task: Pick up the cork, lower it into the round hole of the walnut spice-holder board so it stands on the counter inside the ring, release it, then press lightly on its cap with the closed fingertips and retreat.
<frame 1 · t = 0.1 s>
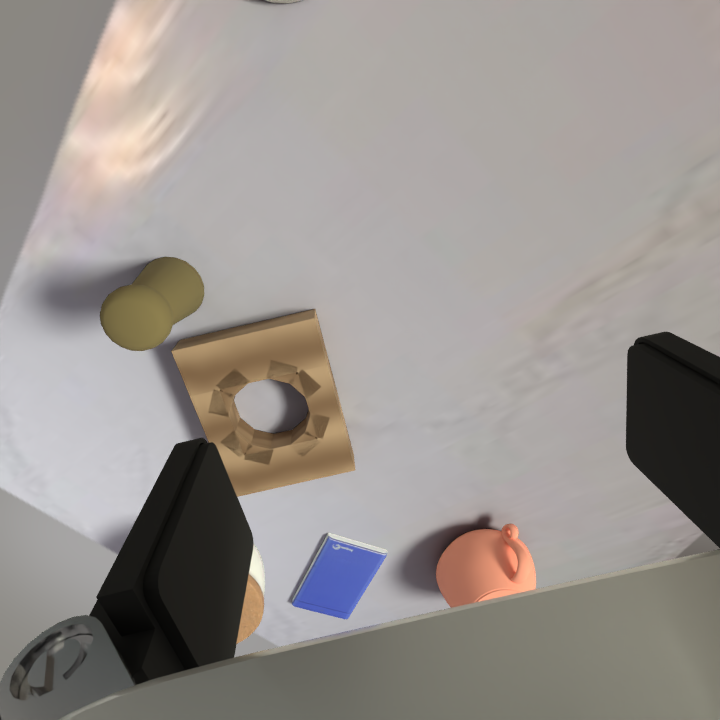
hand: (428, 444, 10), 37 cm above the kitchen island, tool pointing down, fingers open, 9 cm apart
lidded bowl: (220, 545, 58), on the kitchen island
cork: (172, 287, 45), on the kitchen island
holder board: (272, 401, 51), on the kitchen island
hard drive: (338, 570, 62), on the kitchen island
sugar bowl: (480, 548, 62), on the kitchen island
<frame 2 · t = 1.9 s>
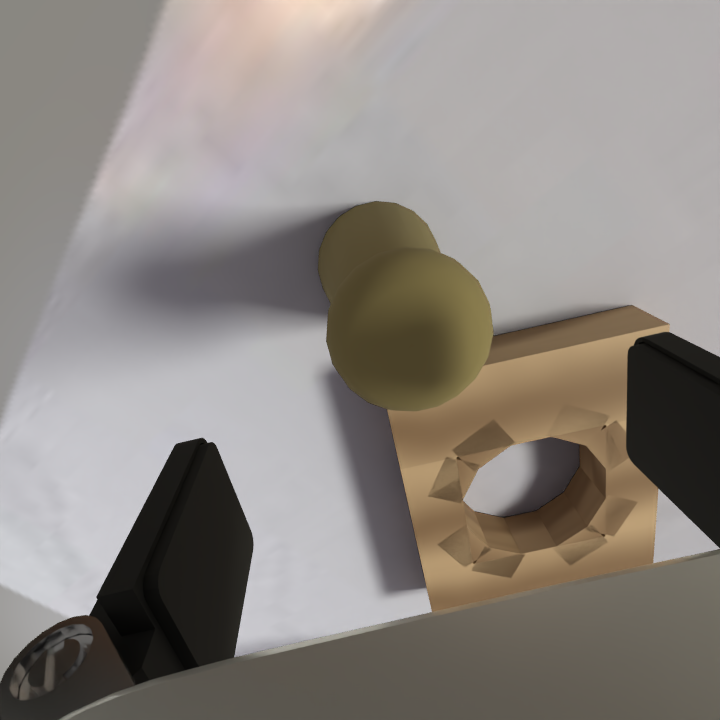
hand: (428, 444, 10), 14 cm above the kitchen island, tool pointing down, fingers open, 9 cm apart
cork: (378, 264, 23), on the kitchen island
holder board: (515, 466, 29), on the kitchen island
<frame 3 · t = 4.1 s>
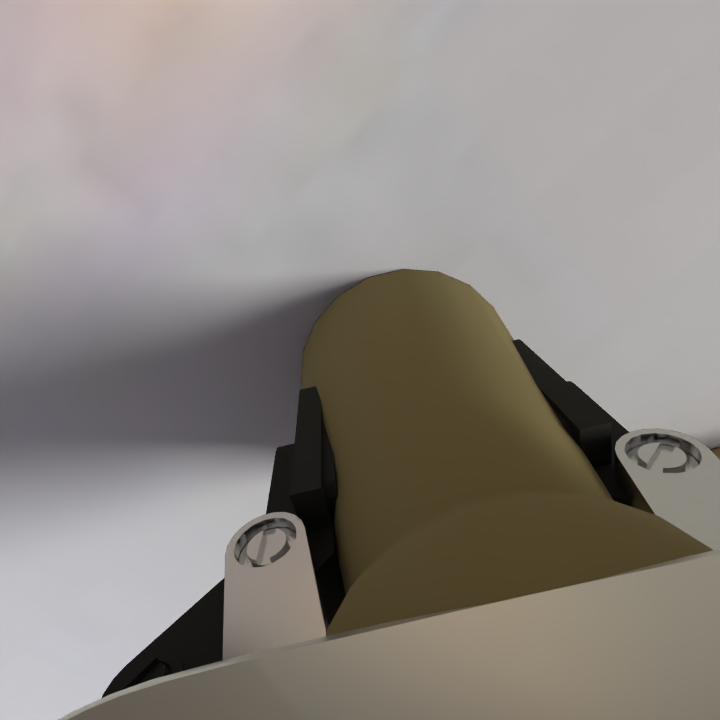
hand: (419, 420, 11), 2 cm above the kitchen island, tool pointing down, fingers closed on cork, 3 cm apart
cork: (405, 370, 14), on the kitchen island, touching gripper
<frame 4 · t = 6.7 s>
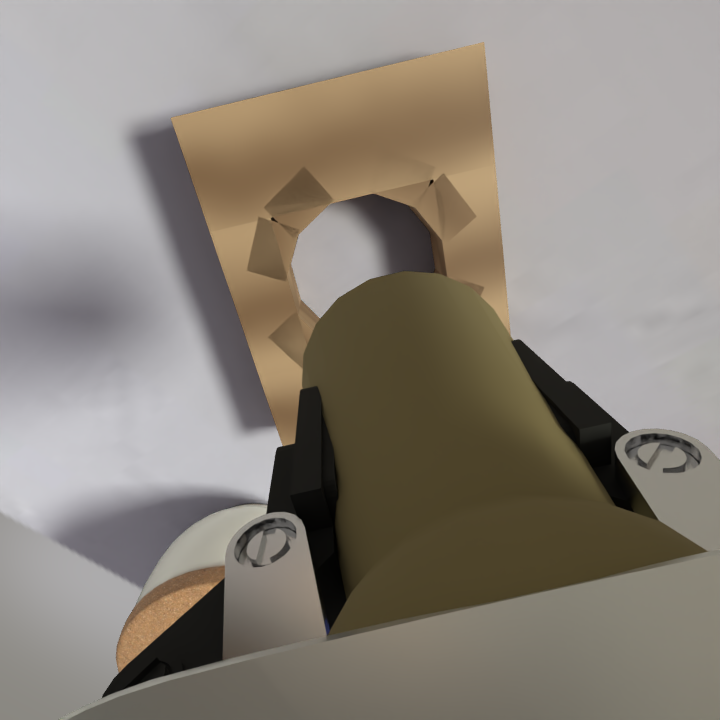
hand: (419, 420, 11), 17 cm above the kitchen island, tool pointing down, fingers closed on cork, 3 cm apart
lidded bowl: (255, 540, 34), on the kitchen island
cork: (405, 372, 14), point 14 cm above the kitchen island, touching gripper
holder board: (363, 266, 27), on the kitchen island
when the fingers open (4 cm above the kitchen island, at t = 9.4 s): cork drops 1 cm, resting in holder board.
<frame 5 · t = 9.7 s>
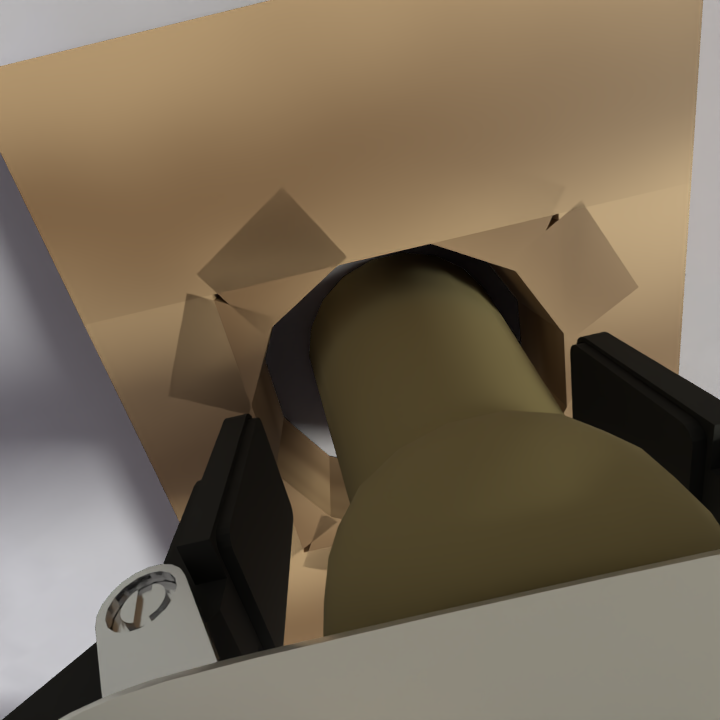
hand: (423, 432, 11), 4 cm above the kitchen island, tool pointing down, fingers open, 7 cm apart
cork: (404, 346, 15), resting in holder board
holder board: (396, 360, 15), on the kitchen island
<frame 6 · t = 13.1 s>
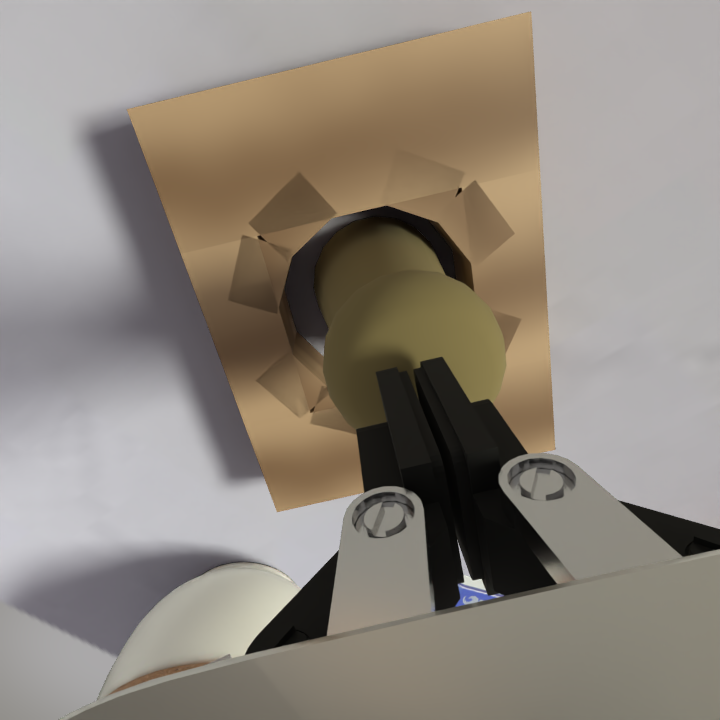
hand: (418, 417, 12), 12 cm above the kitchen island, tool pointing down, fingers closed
lidded bowl: (245, 601, 30), on the kitchen island
cork: (377, 281, 22), resting in holder board
holder board: (372, 291, 22), on the kitchen island
hard drive: (459, 637, 34), on the kitchen island
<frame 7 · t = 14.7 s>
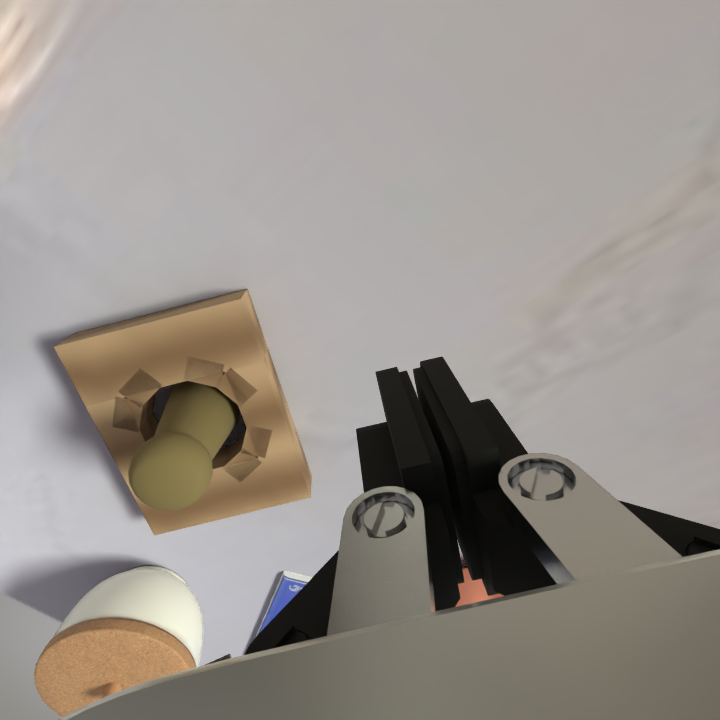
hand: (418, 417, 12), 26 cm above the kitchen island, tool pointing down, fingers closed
lidded bowl: (153, 591, 47), on the kitchen island
cork: (205, 405, 40), resting in holder board
holder board: (202, 410, 40), on the kitchen island
hard drive: (302, 615, 50), on the kitchen island
sugar bowl: (478, 588, 50), on the kitchen island
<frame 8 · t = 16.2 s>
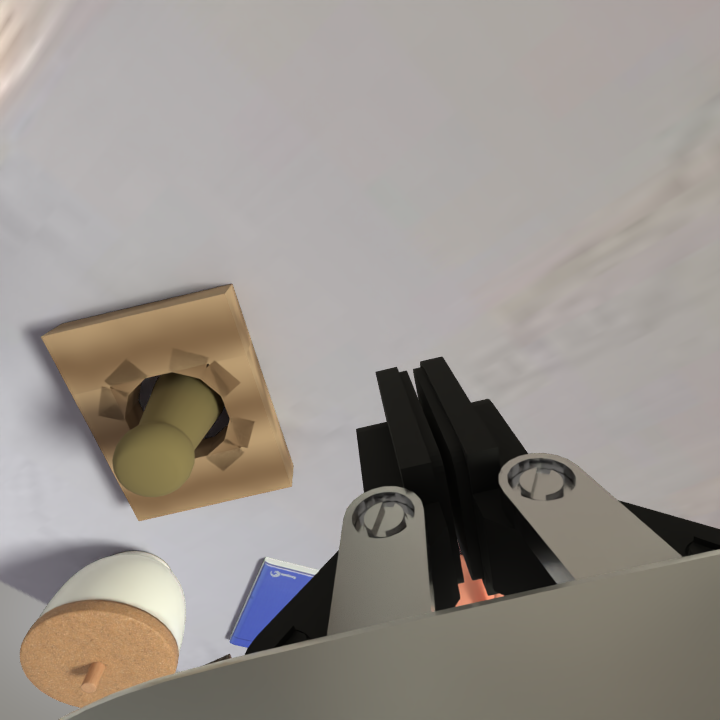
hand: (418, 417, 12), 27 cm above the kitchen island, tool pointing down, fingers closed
lidded bowl: (138, 575, 48), on the kitchen island
cork: (190, 395, 41), resting in holder board
holder board: (187, 401, 41), on the kitchen island
hard drive: (284, 600, 52), on the kitchen island
sugar bowl: (454, 576, 52), on the kitchen island
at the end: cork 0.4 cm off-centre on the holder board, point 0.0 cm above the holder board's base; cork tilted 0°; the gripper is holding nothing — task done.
